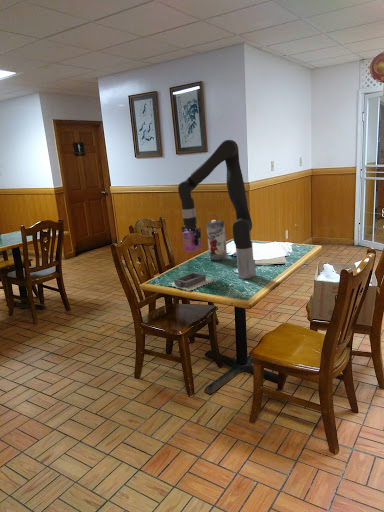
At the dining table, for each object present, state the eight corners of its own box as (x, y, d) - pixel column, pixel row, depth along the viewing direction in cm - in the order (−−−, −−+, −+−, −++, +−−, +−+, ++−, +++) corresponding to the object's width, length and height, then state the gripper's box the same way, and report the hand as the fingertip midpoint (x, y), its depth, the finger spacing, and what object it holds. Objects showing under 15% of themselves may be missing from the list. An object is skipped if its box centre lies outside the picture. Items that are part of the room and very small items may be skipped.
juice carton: (214, 257, 269) (210, 218, 262) (228, 257, 264) (224, 218, 257) (208, 261, 262) (204, 221, 254) (223, 261, 257) (219, 221, 250)
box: (192, 252, 224) (189, 232, 221) (184, 252, 227) (181, 232, 224) (202, 248, 232) (200, 228, 229) (194, 247, 235) (192, 228, 232)
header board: (213, 281, 222) (212, 274, 221) (189, 292, 210) (189, 284, 209) (191, 276, 235) (190, 270, 233) (168, 286, 223) (167, 279, 222)
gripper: (202, 215, 221) (206, 244, 226) (186, 214, 232) (189, 242, 236) (193, 218, 217) (196, 247, 221) (176, 217, 227) (179, 245, 232)
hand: (192, 244), depth 229 cm, fingers closed on box, 6 cm apart
